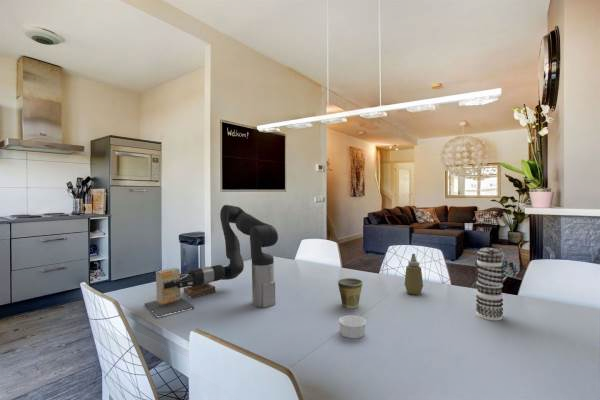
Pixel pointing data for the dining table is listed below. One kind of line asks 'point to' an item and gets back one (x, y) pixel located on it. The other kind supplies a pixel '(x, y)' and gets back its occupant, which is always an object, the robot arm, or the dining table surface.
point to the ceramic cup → (350, 292)
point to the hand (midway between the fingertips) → (162, 284)
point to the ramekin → (352, 326)
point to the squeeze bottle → (413, 277)
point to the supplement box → (170, 293)
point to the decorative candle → (489, 284)
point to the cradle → (199, 290)
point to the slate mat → (168, 307)
